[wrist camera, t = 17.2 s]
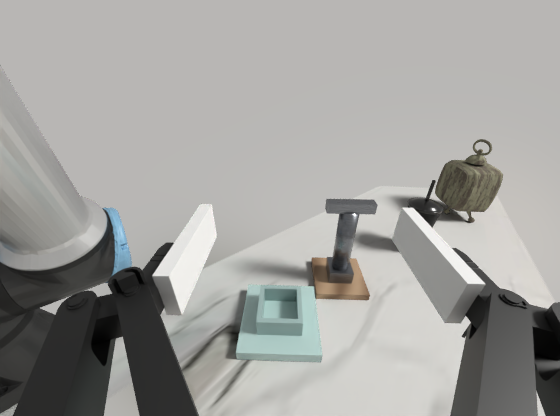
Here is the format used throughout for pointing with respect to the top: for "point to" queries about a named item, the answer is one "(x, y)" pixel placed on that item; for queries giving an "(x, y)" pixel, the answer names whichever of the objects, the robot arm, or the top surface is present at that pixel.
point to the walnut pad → (338, 289)
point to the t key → (345, 236)
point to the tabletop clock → (469, 183)
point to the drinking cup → (426, 207)
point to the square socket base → (280, 324)
